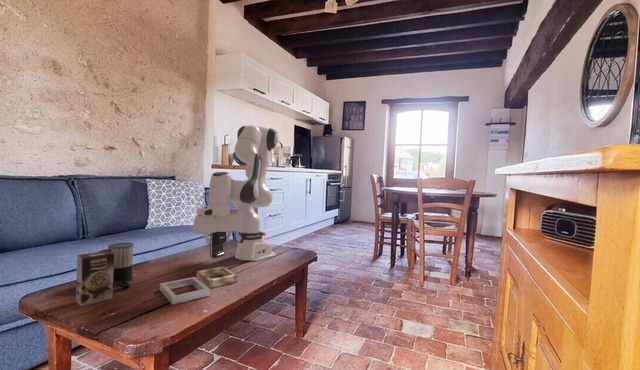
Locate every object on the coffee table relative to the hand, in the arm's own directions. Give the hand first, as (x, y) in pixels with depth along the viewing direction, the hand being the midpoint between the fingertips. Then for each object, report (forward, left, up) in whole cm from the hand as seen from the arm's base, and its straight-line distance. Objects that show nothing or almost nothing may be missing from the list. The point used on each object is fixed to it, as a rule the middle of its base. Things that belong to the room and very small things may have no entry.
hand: (217, 242), depth 125 cm
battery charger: (0, 0, -6) cm, 6 cm away
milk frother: (+32, -18, -17) cm, 40 cm away
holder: (+15, +6, -16) cm, 23 cm away
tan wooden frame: (0, 0, -16) cm, 16 cm away
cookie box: (+41, -5, -17) cm, 44 cm away
